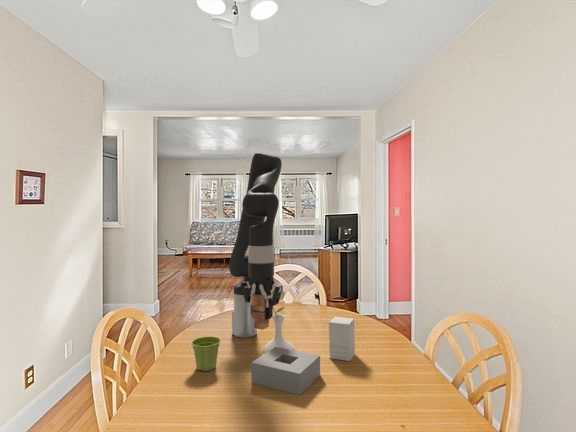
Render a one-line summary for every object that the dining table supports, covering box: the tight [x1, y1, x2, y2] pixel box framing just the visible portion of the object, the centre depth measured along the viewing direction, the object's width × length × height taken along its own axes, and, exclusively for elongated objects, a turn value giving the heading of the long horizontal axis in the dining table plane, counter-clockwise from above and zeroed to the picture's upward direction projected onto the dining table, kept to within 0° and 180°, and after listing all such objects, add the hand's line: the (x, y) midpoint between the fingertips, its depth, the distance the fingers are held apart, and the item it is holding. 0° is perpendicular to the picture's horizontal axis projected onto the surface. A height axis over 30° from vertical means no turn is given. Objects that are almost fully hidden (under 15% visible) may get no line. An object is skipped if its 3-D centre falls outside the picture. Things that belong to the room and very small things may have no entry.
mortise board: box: [250, 347, 321, 396], centre depth 110 cm, size 16×14×6 cm
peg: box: [251, 293, 270, 331], centre depth 108 cm, size 4×4×10 cm
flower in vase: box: [262, 283, 296, 355], centre depth 129 cm, size 13×11×25 cm
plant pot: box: [190, 335, 222, 372], centre depth 119 cm, size 9×9×9 cm
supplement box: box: [328, 316, 356, 362], centre depth 127 cm, size 7×7×13 cm
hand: (261, 317), depth 108 cm, fingers closed on peg, 4 cm apart
